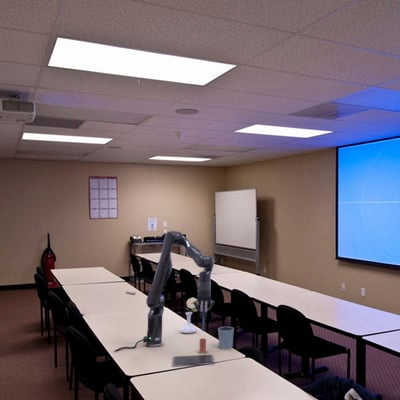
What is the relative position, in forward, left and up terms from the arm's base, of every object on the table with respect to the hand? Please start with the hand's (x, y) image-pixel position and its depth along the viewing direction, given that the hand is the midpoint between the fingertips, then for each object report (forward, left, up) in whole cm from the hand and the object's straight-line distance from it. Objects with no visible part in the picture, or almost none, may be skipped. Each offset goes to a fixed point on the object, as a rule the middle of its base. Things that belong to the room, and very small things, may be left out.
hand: (203, 317), depth 254 cm
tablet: (-6, -8, -23) cm, 25 cm away
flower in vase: (-7, +51, -23) cm, 56 cm away
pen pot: (0, +6, -23) cm, 23 cm away
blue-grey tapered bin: (+15, +14, -23) cm, 30 cm away
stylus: (0, 0, -8) cm, 8 cm away
